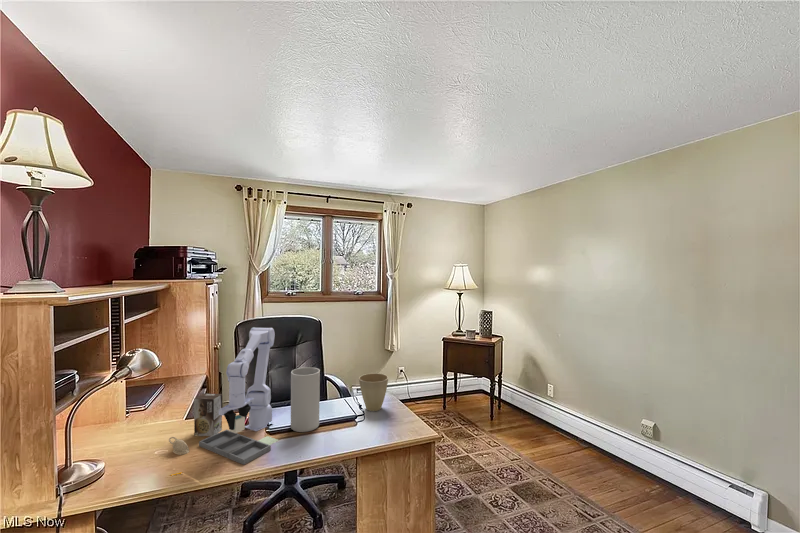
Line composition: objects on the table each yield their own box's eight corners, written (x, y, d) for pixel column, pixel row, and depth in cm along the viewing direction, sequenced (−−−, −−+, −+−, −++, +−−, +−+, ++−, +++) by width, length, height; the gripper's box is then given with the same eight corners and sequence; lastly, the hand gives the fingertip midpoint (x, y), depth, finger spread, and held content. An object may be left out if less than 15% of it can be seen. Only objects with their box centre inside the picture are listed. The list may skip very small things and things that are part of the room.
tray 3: (255, 445, 147) (255, 439, 147) (270, 451, 143) (270, 445, 143) (228, 459, 137) (228, 453, 137) (243, 465, 132) (243, 459, 132)
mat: (267, 436, 155) (267, 436, 155) (279, 441, 151) (279, 440, 151) (253, 443, 148) (253, 442, 148) (265, 448, 145) (265, 447, 145)
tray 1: (226, 434, 156) (226, 429, 156) (240, 439, 152) (240, 434, 152) (198, 446, 146) (198, 441, 146) (212, 452, 141) (212, 447, 141)
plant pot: (376, 400, 197) (376, 371, 197) (393, 409, 185) (394, 378, 185) (352, 407, 187) (353, 376, 187) (369, 417, 176) (370, 384, 176)
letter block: (238, 427, 147) (238, 414, 147) (244, 429, 145) (244, 416, 145) (228, 431, 144) (229, 417, 144) (235, 433, 142) (235, 420, 142)
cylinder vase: (290, 422, 169) (290, 368, 169) (318, 419, 173) (318, 366, 173) (290, 434, 157) (291, 376, 157) (320, 430, 161) (321, 374, 161)
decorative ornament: (180, 457, 138) (180, 443, 138) (166, 452, 141) (167, 438, 141) (190, 452, 141) (190, 438, 141) (177, 447, 145) (177, 434, 145)
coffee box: (222, 430, 160) (222, 393, 160) (213, 437, 154) (214, 399, 154) (203, 429, 161) (203, 392, 161) (193, 436, 155) (193, 398, 155)
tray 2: (240, 439, 152) (240, 434, 152) (254, 445, 147) (255, 439, 147) (213, 452, 141) (213, 447, 141) (227, 459, 137) (227, 453, 137)
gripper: (246, 385, 153) (246, 418, 153) (213, 396, 140) (213, 431, 140) (257, 388, 149) (257, 421, 149) (225, 399, 137) (225, 436, 137)
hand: (236, 426), depth 145 cm, fingers closed on letter block, 4 cm apart
